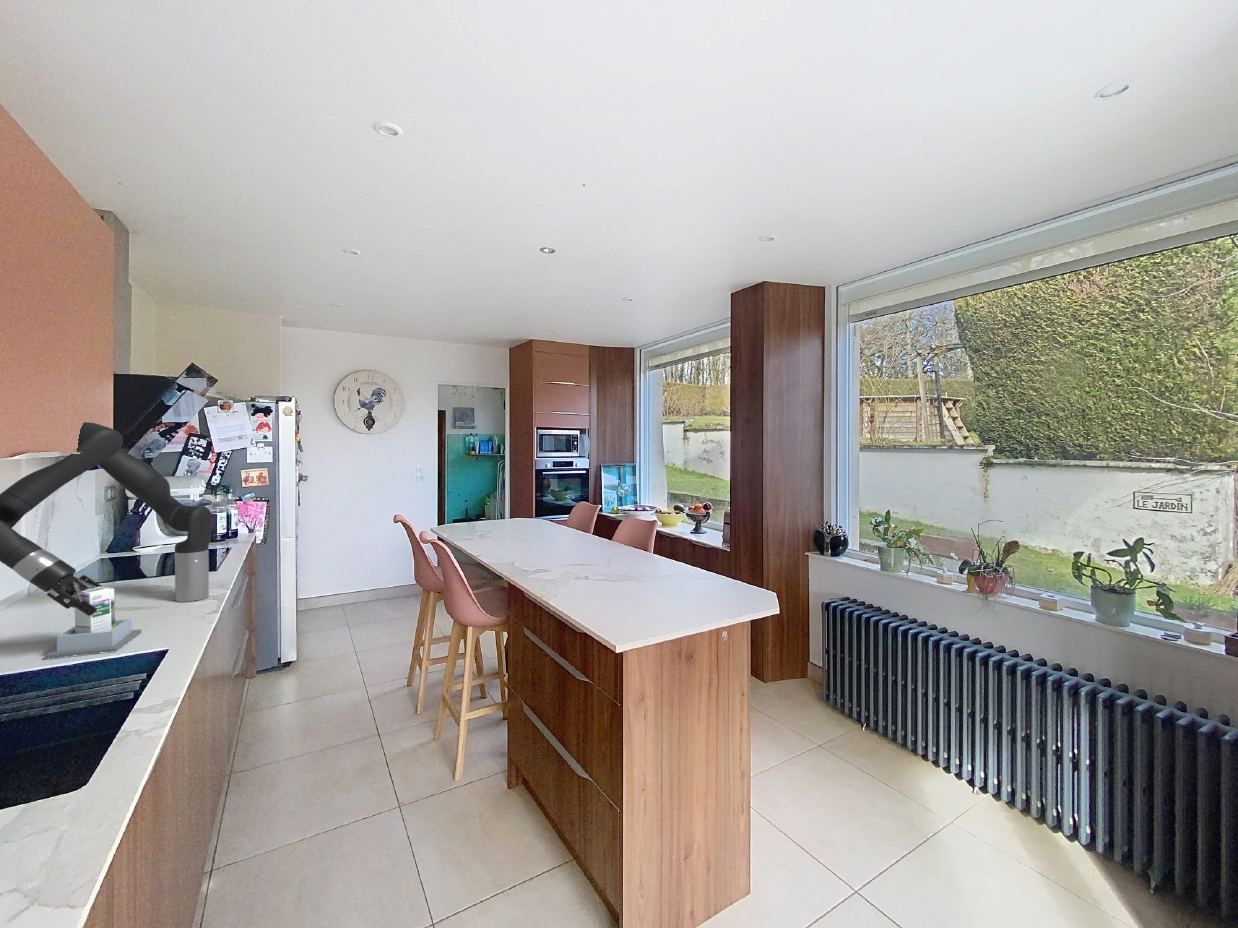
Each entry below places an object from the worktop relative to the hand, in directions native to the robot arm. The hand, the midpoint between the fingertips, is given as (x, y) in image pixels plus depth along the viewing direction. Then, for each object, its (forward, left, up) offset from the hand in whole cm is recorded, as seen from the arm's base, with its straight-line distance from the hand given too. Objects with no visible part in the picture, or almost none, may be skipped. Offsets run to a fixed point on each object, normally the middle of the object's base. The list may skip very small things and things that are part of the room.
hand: (102, 608), depth 141 cm
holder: (0, -1, -10) cm, 10 cm away
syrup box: (0, -2, -9) cm, 9 cm away
